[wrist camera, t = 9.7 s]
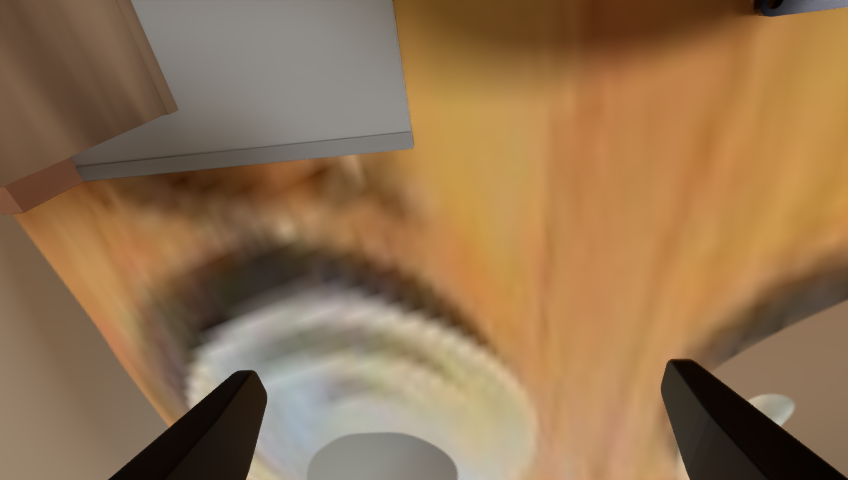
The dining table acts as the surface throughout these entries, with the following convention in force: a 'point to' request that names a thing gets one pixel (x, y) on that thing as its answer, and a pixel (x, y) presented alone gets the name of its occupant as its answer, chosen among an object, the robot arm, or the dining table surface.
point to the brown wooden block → (72, 80)
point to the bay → (252, 91)
